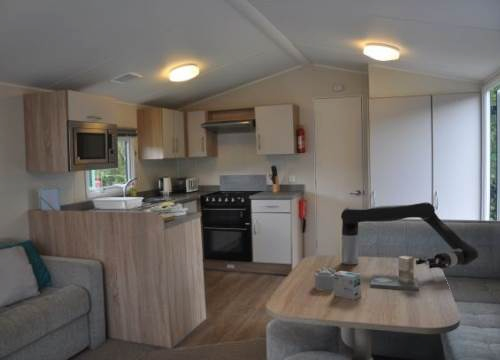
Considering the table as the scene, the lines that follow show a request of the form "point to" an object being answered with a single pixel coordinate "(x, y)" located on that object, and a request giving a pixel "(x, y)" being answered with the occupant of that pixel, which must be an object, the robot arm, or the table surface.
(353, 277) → the light bulb box
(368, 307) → the table surface
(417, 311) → the table surface
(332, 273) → the lumpy-topped squat cylinder
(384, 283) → the charcoal board
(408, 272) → the pale ash block
